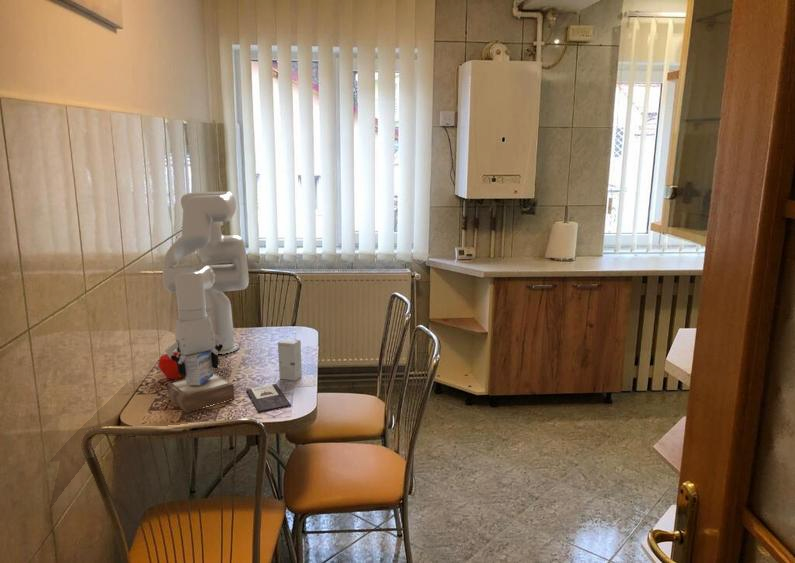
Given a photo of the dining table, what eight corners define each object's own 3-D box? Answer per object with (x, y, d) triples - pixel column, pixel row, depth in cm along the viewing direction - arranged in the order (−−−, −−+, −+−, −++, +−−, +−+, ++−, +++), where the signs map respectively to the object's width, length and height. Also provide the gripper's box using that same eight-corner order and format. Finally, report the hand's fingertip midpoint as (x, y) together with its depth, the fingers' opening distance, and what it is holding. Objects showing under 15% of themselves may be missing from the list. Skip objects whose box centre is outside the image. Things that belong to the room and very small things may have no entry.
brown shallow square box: (169, 399, 175) (167, 383, 174) (215, 386, 183) (213, 371, 182) (186, 413, 164) (185, 396, 163) (234, 399, 173) (233, 383, 172)
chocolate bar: (258, 411, 163) (246, 389, 179) (258, 414, 163) (246, 392, 179) (290, 404, 166) (276, 383, 182) (291, 407, 166) (276, 386, 183)
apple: (158, 383, 187) (155, 360, 186) (164, 374, 196) (161, 351, 194) (187, 381, 189) (185, 357, 187) (192, 371, 197) (190, 349, 196)
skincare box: (279, 379, 188) (276, 342, 185) (286, 374, 192) (283, 338, 189) (296, 381, 186) (293, 343, 183) (303, 376, 190) (300, 339, 187)
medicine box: (200, 386, 168) (196, 356, 167) (185, 385, 169) (182, 356, 167) (213, 375, 176) (210, 347, 174) (200, 375, 177) (196, 347, 175)
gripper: (216, 306, 177) (222, 361, 180) (157, 317, 166) (164, 375, 170) (227, 310, 171) (232, 367, 175) (166, 322, 160) (173, 382, 164)
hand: (198, 371), depth 172 cm, fingers closed on medicine box, 9 cm apart
